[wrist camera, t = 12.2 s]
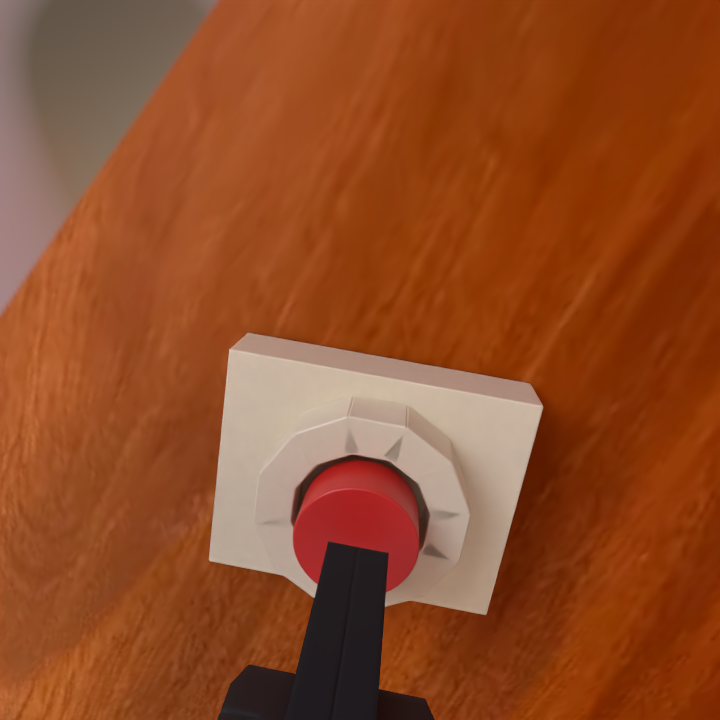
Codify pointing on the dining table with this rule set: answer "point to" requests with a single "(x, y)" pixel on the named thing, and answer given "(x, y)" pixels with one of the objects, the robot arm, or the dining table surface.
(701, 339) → the dining table surface
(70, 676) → the dining table surface
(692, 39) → the dining table surface
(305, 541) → the red button
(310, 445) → the button housing
